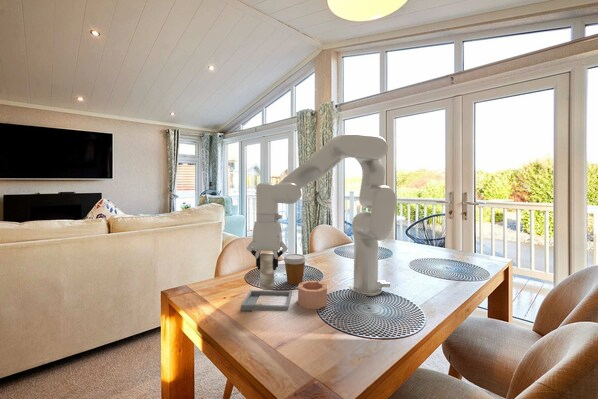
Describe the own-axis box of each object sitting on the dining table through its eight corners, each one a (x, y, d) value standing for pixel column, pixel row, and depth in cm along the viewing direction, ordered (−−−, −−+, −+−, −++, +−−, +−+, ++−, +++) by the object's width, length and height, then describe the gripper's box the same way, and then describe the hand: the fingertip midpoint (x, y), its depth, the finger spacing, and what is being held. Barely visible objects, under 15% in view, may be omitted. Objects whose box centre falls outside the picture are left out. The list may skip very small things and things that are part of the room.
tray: (291, 296, 108) (291, 291, 108) (288, 312, 95) (288, 306, 95) (250, 295, 109) (250, 290, 109) (241, 311, 96) (241, 305, 96)
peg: (275, 284, 104) (275, 252, 103) (272, 290, 99) (272, 256, 98) (261, 284, 104) (261, 252, 103) (258, 289, 99) (258, 255, 98)
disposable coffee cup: (303, 289, 116) (303, 260, 115) (281, 287, 118) (281, 258, 117) (307, 280, 125) (307, 254, 124) (286, 279, 127) (286, 253, 126)
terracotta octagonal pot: (326, 299, 106) (326, 281, 105) (327, 312, 96) (327, 291, 95) (299, 298, 106) (299, 280, 106) (297, 311, 96) (297, 291, 96)
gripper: (292, 217, 103) (291, 266, 104) (246, 216, 104) (246, 265, 105) (290, 220, 96) (289, 273, 97) (240, 219, 97) (240, 271, 98)
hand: (267, 268), depth 101 cm, fingers closed on peg, 4 cm apart
